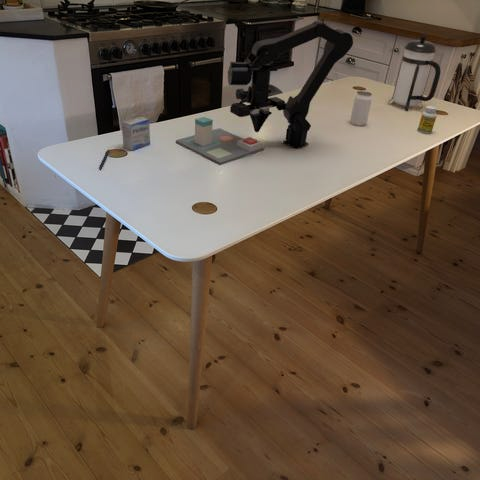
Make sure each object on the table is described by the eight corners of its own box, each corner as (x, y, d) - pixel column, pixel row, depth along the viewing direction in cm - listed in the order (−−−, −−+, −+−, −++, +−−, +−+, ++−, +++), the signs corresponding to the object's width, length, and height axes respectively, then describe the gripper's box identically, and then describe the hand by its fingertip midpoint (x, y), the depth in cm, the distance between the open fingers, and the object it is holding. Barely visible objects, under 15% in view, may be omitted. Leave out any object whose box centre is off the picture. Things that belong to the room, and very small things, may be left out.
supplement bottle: (429, 129, 184) (436, 105, 178) (433, 134, 179) (440, 110, 174) (415, 128, 184) (422, 104, 179) (418, 133, 179) (426, 108, 174)
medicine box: (132, 151, 147) (130, 125, 142) (122, 147, 149) (121, 121, 144) (150, 144, 152) (149, 119, 148) (141, 141, 155) (140, 115, 150)
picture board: (264, 149, 155) (264, 142, 154) (220, 164, 143) (220, 157, 141) (219, 130, 168) (219, 123, 166) (175, 142, 155) (175, 135, 154)
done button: (256, 145, 154) (256, 140, 153) (249, 148, 152) (250, 142, 151) (249, 142, 156) (250, 137, 155) (242, 145, 154) (243, 139, 153)
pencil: (98, 170, 135) (107, 150, 147) (101, 171, 135) (110, 150, 147) (98, 168, 134) (107, 147, 147) (101, 168, 134) (110, 148, 147)
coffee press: (387, 109, 203) (405, 35, 186) (388, 99, 216) (405, 29, 199) (428, 115, 199) (450, 41, 183) (427, 105, 212) (447, 34, 196)
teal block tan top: (211, 143, 155) (212, 120, 150) (202, 146, 152) (203, 122, 148) (203, 139, 157) (204, 116, 153) (194, 142, 154) (195, 119, 150)
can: (365, 121, 187) (371, 91, 180) (367, 127, 181) (374, 96, 175) (349, 119, 187) (355, 90, 180) (350, 125, 182) (356, 94, 175)
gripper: (268, 75, 157) (264, 120, 166) (221, 81, 148) (220, 128, 156) (289, 84, 149) (284, 130, 158) (241, 90, 140) (238, 139, 149)
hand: (256, 131), depth 156 cm, fingers closed
